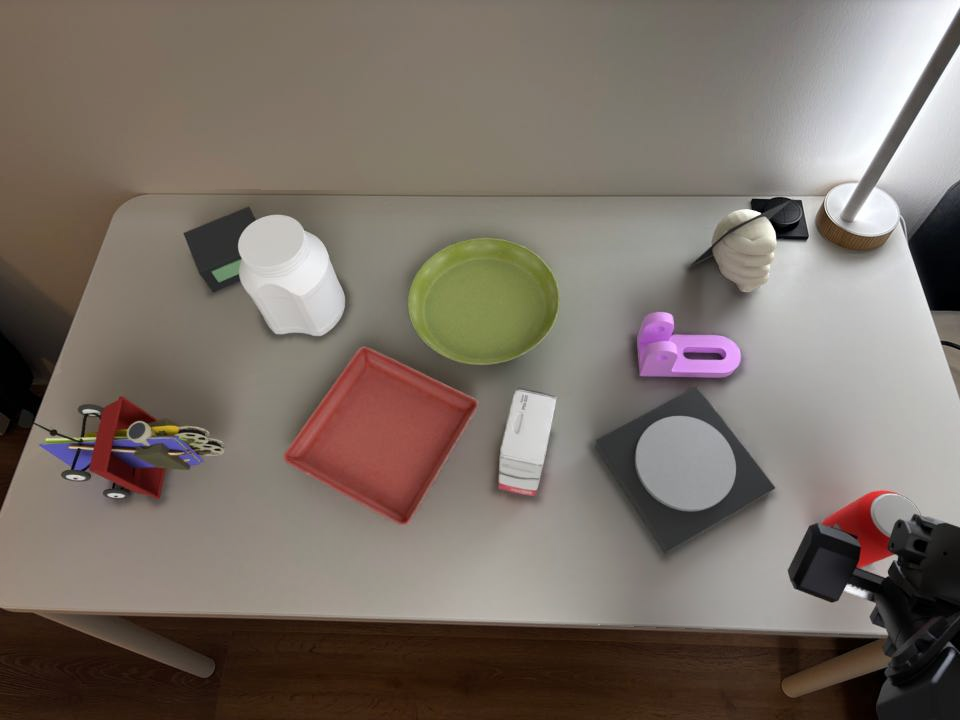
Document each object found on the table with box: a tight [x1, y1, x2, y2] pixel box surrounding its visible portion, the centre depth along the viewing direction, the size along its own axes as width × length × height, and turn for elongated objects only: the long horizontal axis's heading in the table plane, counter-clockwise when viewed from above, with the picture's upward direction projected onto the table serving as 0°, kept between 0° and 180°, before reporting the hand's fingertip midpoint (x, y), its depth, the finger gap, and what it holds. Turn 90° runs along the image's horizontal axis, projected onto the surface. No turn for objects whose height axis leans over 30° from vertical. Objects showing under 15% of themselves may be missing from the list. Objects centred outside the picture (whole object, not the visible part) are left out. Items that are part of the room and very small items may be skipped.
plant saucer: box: [282, 346, 479, 527], centre depth 81 cm, size 18×18×3 cm
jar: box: [238, 214, 346, 337], centre depth 86 cm, size 12×10×15 cm
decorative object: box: [689, 198, 794, 293], centre depth 88 cm, size 13×10×10 cm
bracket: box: [636, 311, 742, 379], centre depth 83 cm, size 13×6×7 cm, turn 88°
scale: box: [594, 386, 776, 555], centre depth 78 cm, size 15×15×3 cm
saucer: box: [407, 237, 561, 366], centre depth 90 cm, size 21×21×3 cm
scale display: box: [182, 205, 257, 293], centre depth 95 cm, size 8×10×5 cm
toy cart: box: [17, 395, 226, 500], centre depth 75 cm, size 17×9×20 cm
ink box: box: [497, 387, 557, 497], centre depth 76 cm, size 9×5×12 cm, turn 167°
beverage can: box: [821, 489, 922, 569], centre depth 69 cm, size 6×6×12 cm
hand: (883, 545), depth 65 cm, fingers open, 9 cm apart
